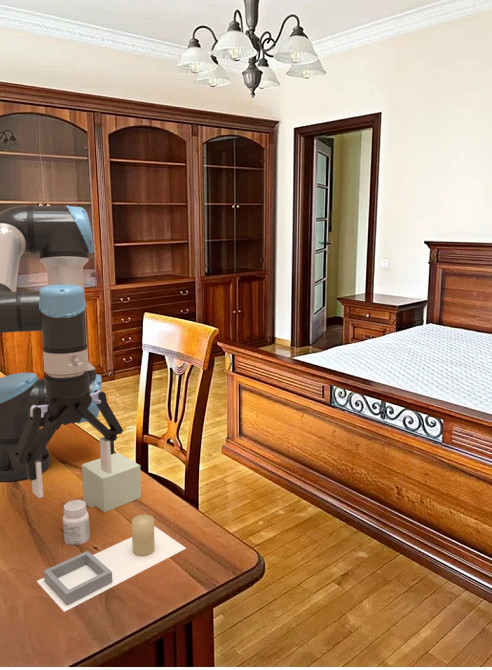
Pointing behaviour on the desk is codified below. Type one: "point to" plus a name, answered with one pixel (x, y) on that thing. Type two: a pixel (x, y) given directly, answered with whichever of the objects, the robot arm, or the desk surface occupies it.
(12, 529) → the desk surface
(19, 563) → the desk surface
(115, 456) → the housing
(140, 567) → the board
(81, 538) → the pill bottle
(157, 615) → the desk surface
